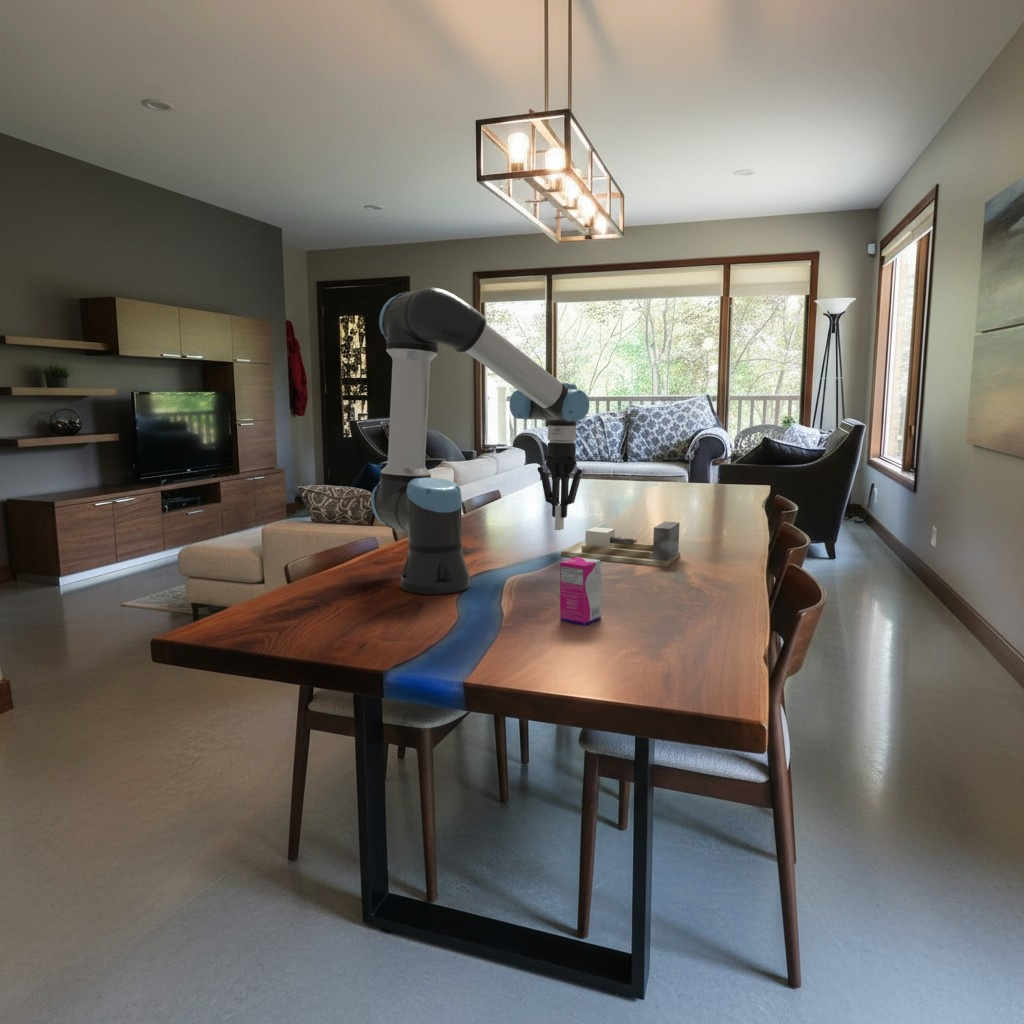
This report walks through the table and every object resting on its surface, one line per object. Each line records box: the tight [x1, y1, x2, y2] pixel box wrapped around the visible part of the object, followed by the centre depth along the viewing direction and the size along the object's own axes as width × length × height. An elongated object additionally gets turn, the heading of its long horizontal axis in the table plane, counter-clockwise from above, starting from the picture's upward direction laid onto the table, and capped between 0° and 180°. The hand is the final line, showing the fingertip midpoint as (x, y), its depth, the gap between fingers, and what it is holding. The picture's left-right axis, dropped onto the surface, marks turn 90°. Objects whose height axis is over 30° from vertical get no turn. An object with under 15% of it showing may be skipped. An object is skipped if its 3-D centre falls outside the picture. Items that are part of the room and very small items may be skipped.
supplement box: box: [559, 557, 602, 627], centre depth 142 cm, size 6×6×12 cm
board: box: [560, 521, 681, 568], centre depth 197 cm, size 28×14×9 cm, turn 64°
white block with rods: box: [585, 526, 635, 548], centre depth 200 cm, size 12×10×5 cm
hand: (559, 529), depth 204 cm, fingers closed
